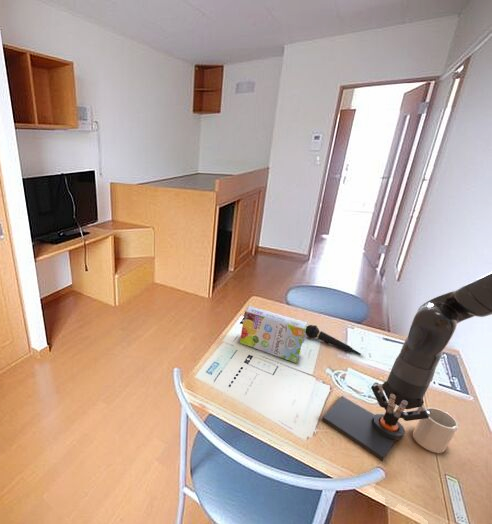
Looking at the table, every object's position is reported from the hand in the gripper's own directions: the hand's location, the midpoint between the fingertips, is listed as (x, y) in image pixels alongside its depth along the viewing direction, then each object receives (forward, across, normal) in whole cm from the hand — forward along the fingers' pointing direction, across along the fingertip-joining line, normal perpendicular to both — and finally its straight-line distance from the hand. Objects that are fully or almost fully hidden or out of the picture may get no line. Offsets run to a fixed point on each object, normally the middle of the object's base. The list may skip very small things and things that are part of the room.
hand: (389, 422), depth 84 cm
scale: (+4, -5, -4) cm, 7 cm away
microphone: (+4, -27, +28) cm, 39 cm away
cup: (+4, +8, +6) cm, 11 cm away
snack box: (+4, -40, +6) cm, 41 cm away
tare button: (+2, 0, 0) cm, 2 cm away
